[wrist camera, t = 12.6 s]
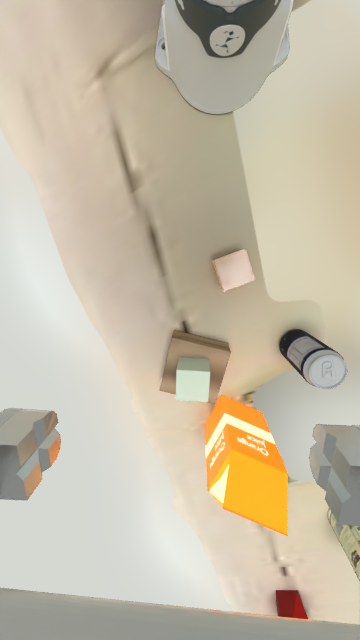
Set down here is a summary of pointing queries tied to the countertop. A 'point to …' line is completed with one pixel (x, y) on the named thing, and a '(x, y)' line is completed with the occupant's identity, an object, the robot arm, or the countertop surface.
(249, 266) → the terracotta cube
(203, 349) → the walnut block
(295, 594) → the french fries
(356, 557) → the coffee can
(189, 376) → the sage cube
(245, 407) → the orange juice
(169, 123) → the countertop surface
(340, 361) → the beverage can
